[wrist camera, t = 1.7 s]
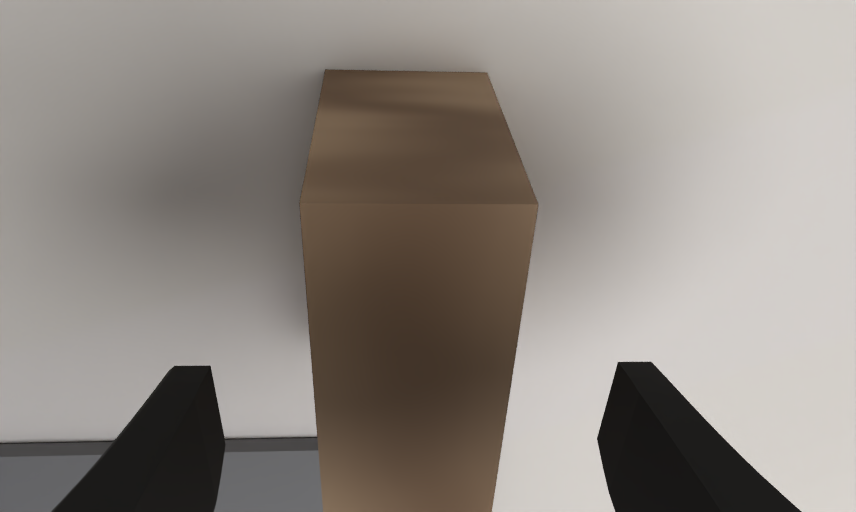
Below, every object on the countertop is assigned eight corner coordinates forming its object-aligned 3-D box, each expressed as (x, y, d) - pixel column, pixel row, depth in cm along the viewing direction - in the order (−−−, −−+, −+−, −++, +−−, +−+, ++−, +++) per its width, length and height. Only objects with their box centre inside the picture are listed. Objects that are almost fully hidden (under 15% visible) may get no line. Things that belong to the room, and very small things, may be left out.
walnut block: (337, 340, 19) (324, 526, 15) (325, 67, 15) (299, 203, 10) (462, 339, 20) (490, 522, 15) (486, 71, 15) (538, 204, 10)
